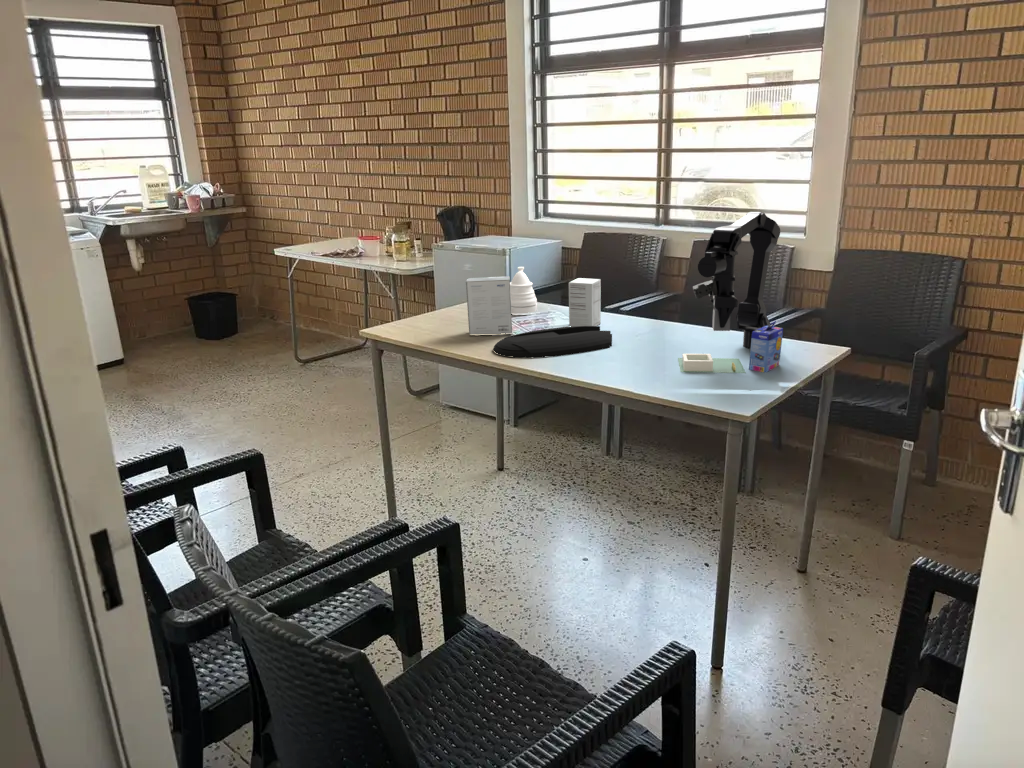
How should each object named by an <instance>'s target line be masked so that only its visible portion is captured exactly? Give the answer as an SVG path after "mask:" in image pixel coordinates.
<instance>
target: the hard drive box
mask: <svg viewBox="0 0 1024 768" xmlns="http://www.w3.org/2000/svg"><path fill="white" fill-rule="evenodd" d="M510 278H511V277H510V276H508V275H507V276H488V277H487V276H486V277H484V276H483V277H469V278H467V279H466V280H465V290H466V291H465V292H466V304H467V307H466V308H467V319H468V321H467V322H468V335H469V334H501V333H505V334H506V333H512V334H513V321H512V319H513V318H512V315H511V294H510V282H511V279H510Z"/></svg>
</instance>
